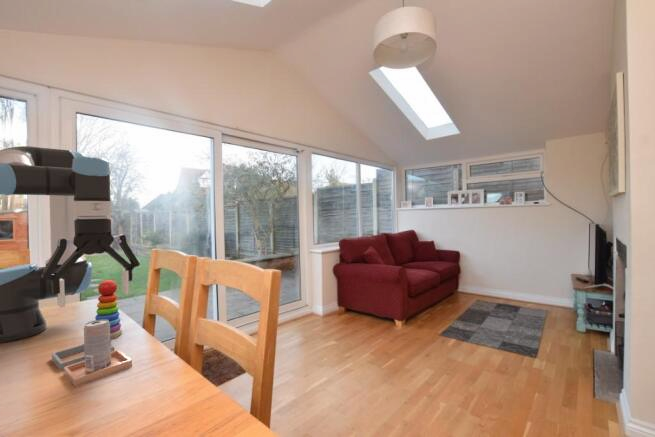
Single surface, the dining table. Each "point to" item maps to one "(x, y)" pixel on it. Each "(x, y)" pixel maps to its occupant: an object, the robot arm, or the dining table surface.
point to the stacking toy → (109, 307)
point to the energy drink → (97, 345)
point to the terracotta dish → (80, 376)
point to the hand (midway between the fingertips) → (95, 299)
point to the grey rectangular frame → (70, 351)
